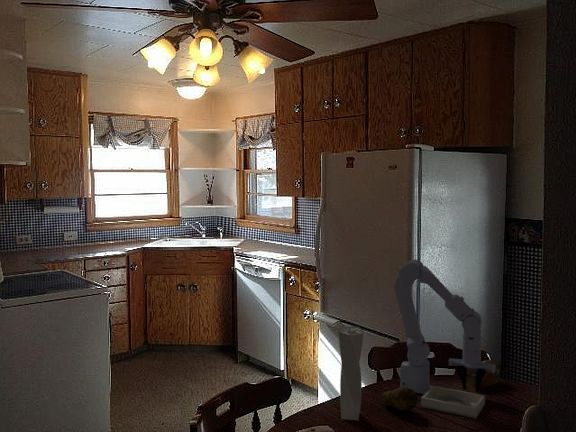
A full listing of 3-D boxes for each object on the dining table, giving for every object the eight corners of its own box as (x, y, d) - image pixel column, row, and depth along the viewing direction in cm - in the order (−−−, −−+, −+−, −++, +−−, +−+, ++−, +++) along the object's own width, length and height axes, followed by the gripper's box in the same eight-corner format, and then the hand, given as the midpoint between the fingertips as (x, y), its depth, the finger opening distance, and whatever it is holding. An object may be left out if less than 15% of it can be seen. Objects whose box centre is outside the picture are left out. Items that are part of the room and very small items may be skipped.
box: (421, 407, 167) (421, 397, 167) (433, 394, 178) (433, 385, 178) (475, 418, 158) (476, 408, 158) (484, 404, 169) (485, 395, 169)
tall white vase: (362, 423, 156) (363, 327, 155) (337, 421, 157) (337, 326, 156) (363, 412, 163) (363, 321, 162) (339, 410, 165) (339, 320, 164)
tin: (471, 390, 182) (471, 365, 182) (464, 387, 185) (464, 363, 184) (502, 383, 189) (502, 359, 189) (494, 380, 192) (495, 357, 191)
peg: (464, 397, 175) (464, 376, 175) (467, 394, 178) (467, 373, 178) (475, 399, 173) (476, 378, 173) (478, 396, 177) (478, 375, 176)
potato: (403, 401, 172) (403, 377, 171) (422, 417, 159) (422, 391, 159) (378, 404, 170) (379, 379, 169) (396, 420, 157) (396, 393, 157)
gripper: (446, 348, 176) (445, 389, 176) (492, 355, 168) (491, 398, 169) (451, 343, 182) (451, 383, 182) (496, 350, 174) (496, 391, 175)
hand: (471, 390), depth 176 cm, fingers closed on peg, 4 cm apart
